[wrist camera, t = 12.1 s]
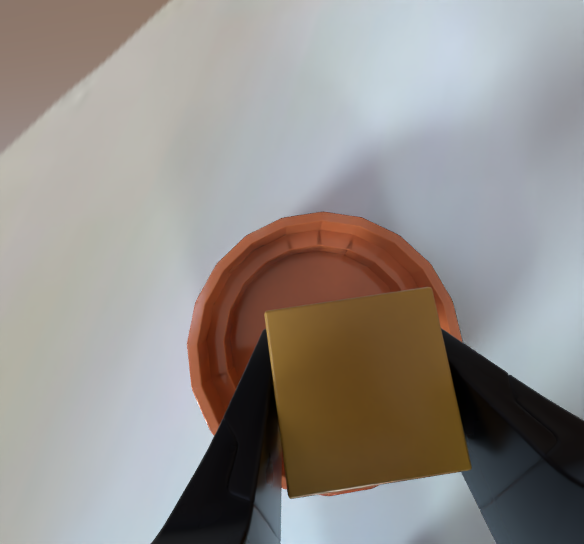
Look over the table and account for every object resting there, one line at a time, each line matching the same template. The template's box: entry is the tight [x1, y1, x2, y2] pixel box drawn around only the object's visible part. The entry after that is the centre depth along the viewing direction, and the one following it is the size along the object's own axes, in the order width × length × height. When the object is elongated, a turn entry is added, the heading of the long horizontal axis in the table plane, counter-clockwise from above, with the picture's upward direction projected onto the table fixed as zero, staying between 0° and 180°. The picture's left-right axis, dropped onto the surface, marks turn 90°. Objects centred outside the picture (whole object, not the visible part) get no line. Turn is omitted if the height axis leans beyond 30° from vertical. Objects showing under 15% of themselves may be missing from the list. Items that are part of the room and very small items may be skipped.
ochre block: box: [264, 287, 472, 499], centre depth 12 cm, size 4×4×10 cm
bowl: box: [187, 212, 462, 496], centre depth 17 cm, size 15×15×4 cm
